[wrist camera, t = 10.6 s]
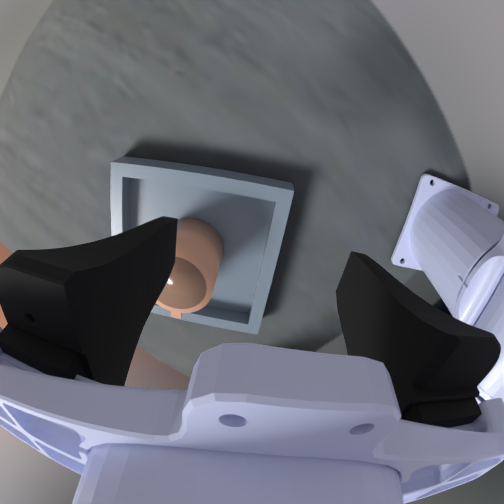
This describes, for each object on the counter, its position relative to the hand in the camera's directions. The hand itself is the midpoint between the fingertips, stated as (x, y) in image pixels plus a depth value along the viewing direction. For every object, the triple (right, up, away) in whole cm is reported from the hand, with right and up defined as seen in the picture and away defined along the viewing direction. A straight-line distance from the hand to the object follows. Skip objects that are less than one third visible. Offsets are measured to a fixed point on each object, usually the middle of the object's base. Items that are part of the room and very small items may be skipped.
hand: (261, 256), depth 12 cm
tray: (-5, +1, +12) cm, 13 cm away
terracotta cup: (-5, +1, +11) cm, 12 cm away
